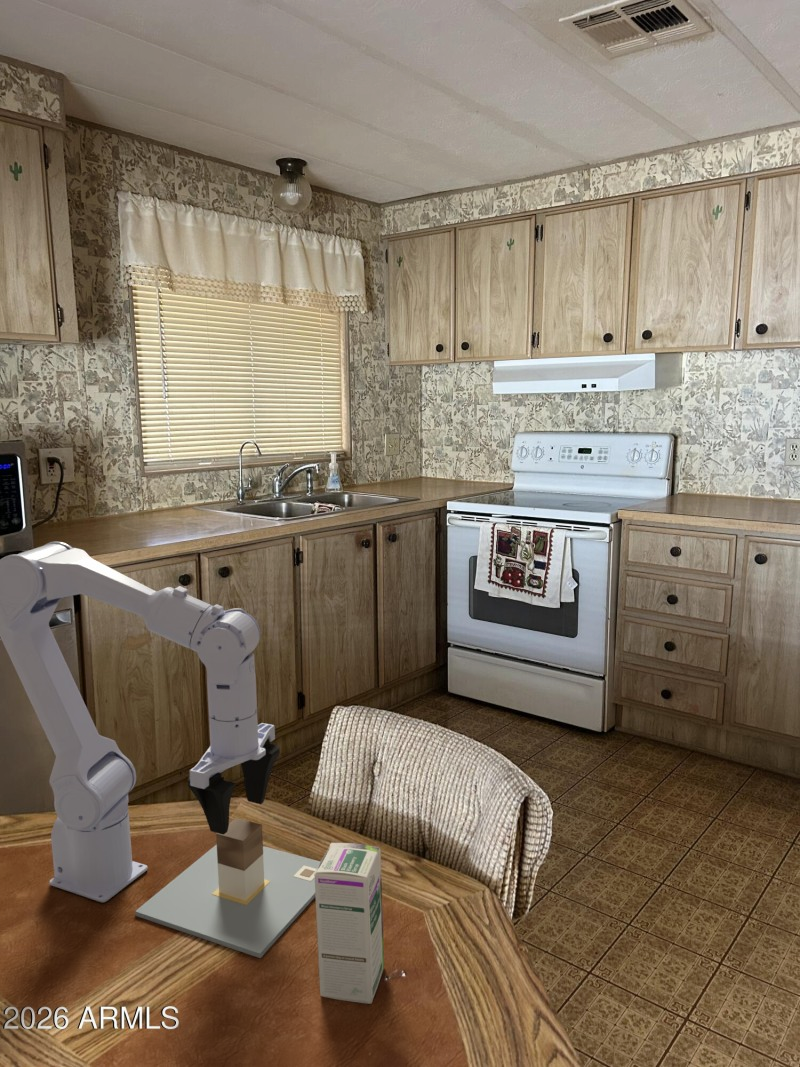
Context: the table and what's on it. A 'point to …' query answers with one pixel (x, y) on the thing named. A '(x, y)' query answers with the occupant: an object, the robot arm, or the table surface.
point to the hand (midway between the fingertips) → (237, 816)
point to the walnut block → (240, 844)
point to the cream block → (241, 879)
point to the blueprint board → (235, 902)
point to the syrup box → (349, 922)
